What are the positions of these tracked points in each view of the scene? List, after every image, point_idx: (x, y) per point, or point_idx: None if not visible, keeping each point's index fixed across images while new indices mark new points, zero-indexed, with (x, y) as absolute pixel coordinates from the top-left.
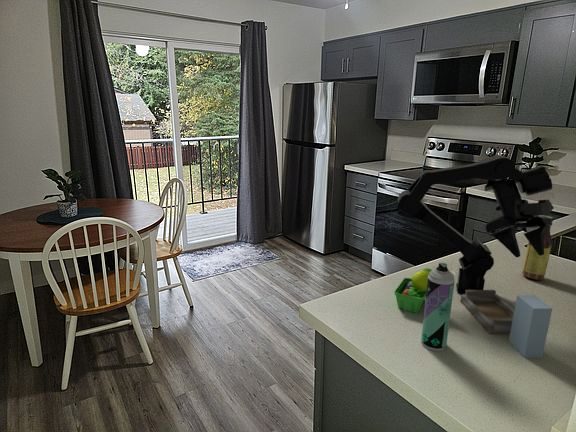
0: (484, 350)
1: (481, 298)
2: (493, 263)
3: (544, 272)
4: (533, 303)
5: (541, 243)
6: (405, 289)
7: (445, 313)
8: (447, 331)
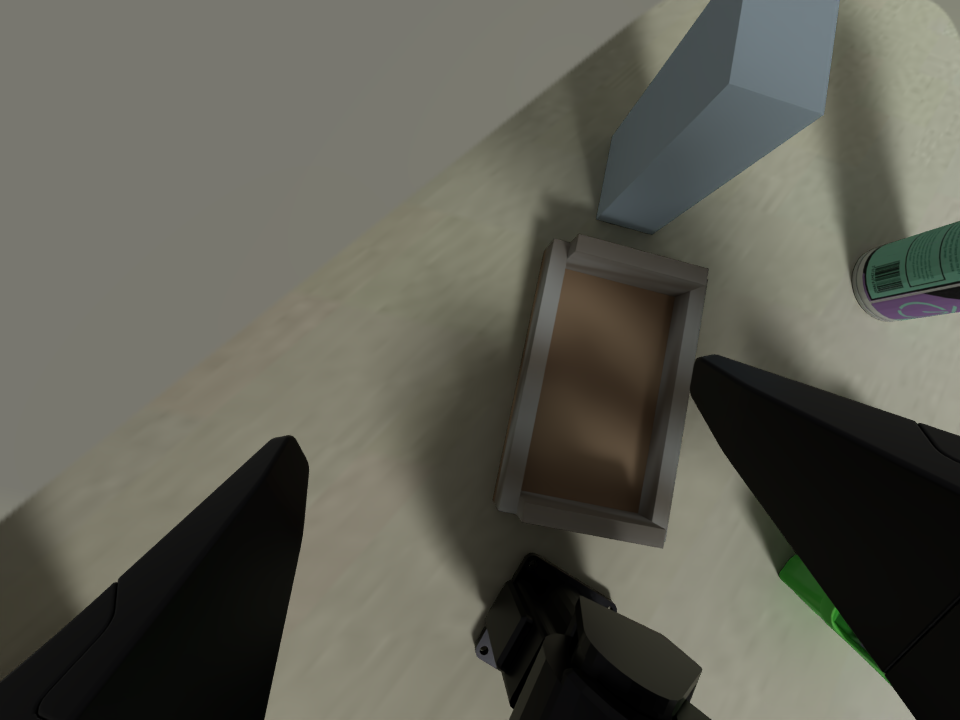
0: (757, 216)
1: (577, 504)
2: (549, 657)
3: None
4: (807, 12)
5: (211, 543)
6: None
7: None
8: (943, 228)
